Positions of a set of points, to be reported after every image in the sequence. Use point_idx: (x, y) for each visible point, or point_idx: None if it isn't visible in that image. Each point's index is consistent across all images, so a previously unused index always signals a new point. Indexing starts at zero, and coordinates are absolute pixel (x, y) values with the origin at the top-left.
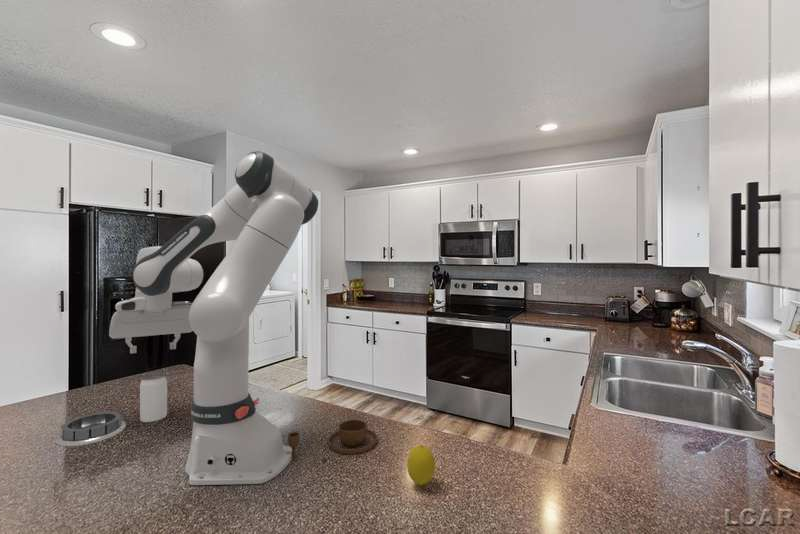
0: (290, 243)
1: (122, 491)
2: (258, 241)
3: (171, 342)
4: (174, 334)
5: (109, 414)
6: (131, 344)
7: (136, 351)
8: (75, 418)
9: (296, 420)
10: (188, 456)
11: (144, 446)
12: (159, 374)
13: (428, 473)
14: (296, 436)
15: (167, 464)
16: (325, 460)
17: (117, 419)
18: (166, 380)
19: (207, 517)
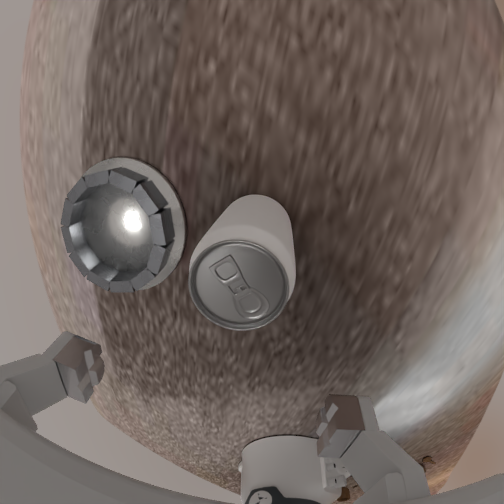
0: None
1: (179, 439)
2: None
3: (347, 432)
4: (382, 492)
5: (141, 205)
6: (46, 393)
7: (100, 380)
8: (77, 182)
9: (428, 420)
10: (246, 461)
11: (209, 368)
12: (272, 257)
13: None
14: (342, 500)
15: (229, 430)
16: (355, 486)
17: (156, 273)
18: (289, 297)
19: (237, 489)
